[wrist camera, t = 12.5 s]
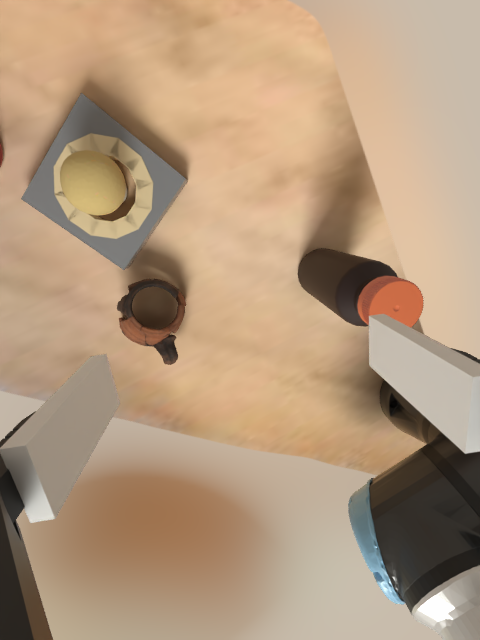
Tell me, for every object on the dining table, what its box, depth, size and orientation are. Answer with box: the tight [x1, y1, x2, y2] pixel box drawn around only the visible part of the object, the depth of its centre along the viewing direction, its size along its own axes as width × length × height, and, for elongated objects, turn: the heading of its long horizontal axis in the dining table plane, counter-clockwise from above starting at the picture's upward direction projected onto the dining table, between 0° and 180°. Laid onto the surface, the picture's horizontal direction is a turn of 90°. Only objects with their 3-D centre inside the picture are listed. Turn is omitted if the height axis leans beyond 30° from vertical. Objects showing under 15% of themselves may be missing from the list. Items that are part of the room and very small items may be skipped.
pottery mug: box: [117, 279, 186, 365], centre depth 43 cm, size 12×9×8 cm
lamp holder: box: [21, 93, 187, 270], centre depth 39 cm, size 14×14×3 cm
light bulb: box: [60, 150, 127, 215], centre depth 35 cm, size 6×6×10 cm
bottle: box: [298, 248, 423, 328], centre depth 36 cm, size 7×7×20 cm
